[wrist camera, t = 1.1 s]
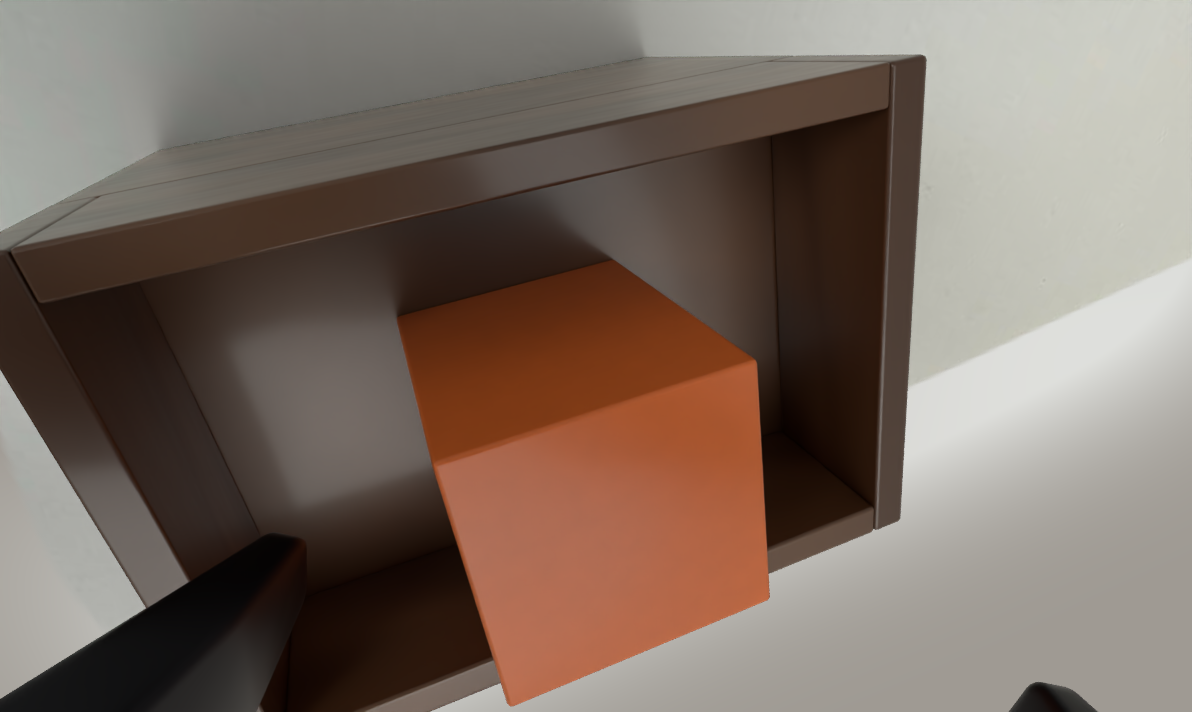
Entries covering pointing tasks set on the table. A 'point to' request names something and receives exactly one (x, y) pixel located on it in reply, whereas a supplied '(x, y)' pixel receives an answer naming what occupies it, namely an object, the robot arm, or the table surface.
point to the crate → (447, 274)
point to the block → (591, 468)
